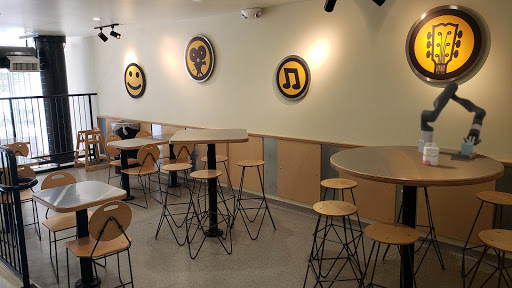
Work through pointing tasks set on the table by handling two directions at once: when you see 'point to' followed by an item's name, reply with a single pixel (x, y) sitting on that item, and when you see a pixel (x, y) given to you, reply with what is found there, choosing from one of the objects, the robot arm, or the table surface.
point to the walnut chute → (462, 156)
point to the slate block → (466, 148)
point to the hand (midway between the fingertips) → (469, 149)
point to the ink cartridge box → (430, 154)
